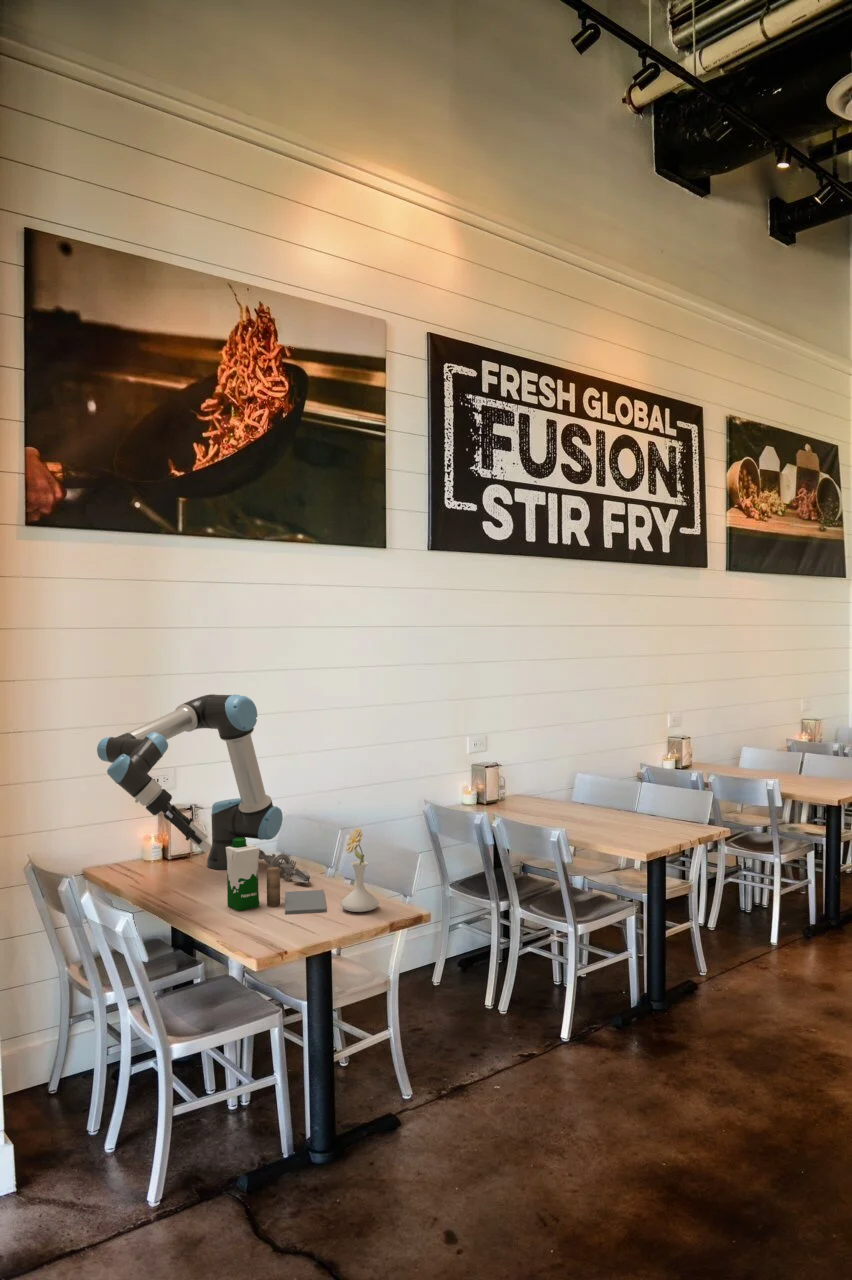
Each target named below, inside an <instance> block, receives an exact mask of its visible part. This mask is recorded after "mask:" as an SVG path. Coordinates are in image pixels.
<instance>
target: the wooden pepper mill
mask: <svg viewBox="0 0 852 1280" xmlns="http://www.w3.org/2000/svg"><path fill="white" fill-rule="evenodd" d="M280 871H281V869H280V868H278V867H270V868H269V867H267V868H266V907H270V908H277V907H280V905H281V877H280Z"/></svg>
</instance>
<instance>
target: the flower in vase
mask: <svg viewBox="0 0 852 1280" xmlns="http://www.w3.org/2000/svg"><path fill="white" fill-rule="evenodd" d="M363 835H364V833H363V831H362V829H361V827H358V828H355V829H353V832H350V833H349V837H348V839H347V841H346V842H345V843H346V846H345V851H347V854H352V853H354V856H355V857H356V858H357V859H358V861H353V862H351V863H350V864H351V866H352V867H353V869H354V873H355V887H354V889H353V890H352V891H351V892H350V893H348V894H347V895H346V896H345V897H344V898H343V899H342V901H341V903H340V907H341V908H342V909H343V910H345V911H349V912H355V913H356V912H357V913H364V912H370V911H373V910H375V909H376V908H378V907H379V904H380V901H379V900H378V898H377V897H375V896H374V895H373V894H372V893H371V892H369V891H368V890H367V889H366V887H365V884H364V882H365V881H364V879H365V878H364V876H365V872H366V871H365V870H366V868H367V866H368V865H369V862H367V861H365V860H364V859H365V858H364V857H365V854H363V850H362V846H361V843H362V839H363ZM357 848H359V850H360V852H359V851H358V850H357ZM359 860H360V861H359Z"/></svg>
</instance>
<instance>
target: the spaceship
mask: <svg viewBox="0 0 852 1280" xmlns="http://www.w3.org/2000/svg"><path fill="white" fill-rule="evenodd" d="M258 860H264V862H265V863H266V864H268V865H267V868H270V867H278V868H280V878H281V877H284V878H283V880H285V881H287V882H290V880H291V879H292V882H297V883H301V884H306V885H307V884H308V885H309V884H311V882H310V880H312V879H313V878H312V876H311V875H310V873H309V872H308V870H305V869H304V870H303V869H302V870H301V869H300V868H298V867H297V868H296V863H297V861H295V860H293V859H291V860H290V857H289V856H288V854H286V853H280V854H278V855H276V854H275V853H272V854H269V855H268V854H266V853H265V851H263V850H261V849H260V851H259V857H258ZM283 861H284V862H283Z"/></svg>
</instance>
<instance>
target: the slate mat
mask: <svg viewBox="0 0 852 1280" xmlns="http://www.w3.org/2000/svg"><path fill="white" fill-rule="evenodd" d="M284 894H285V895H284V896H285V897H284V912H285V913H284V914H285V915H294V914H295V915H297V914H298V915H299V914H315V913H327V905H326V899H325V891H324V889H316V890H314V889H313V890H312V889H311V890H297V891H296V890H294V891H293V890H292V891H285V893H284Z"/></svg>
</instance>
